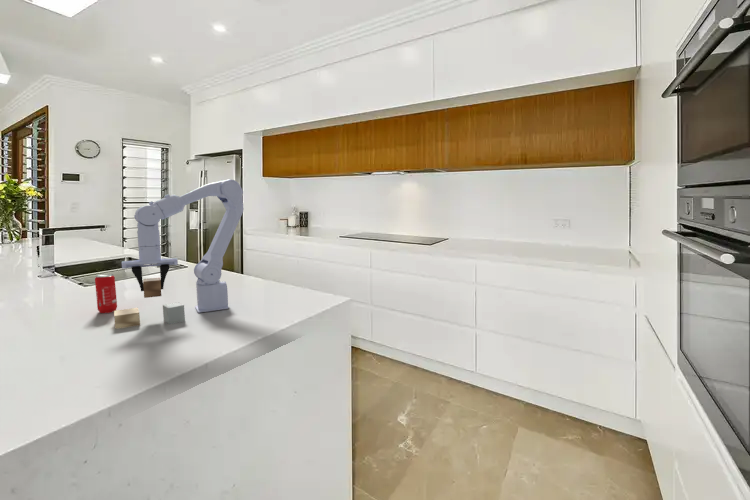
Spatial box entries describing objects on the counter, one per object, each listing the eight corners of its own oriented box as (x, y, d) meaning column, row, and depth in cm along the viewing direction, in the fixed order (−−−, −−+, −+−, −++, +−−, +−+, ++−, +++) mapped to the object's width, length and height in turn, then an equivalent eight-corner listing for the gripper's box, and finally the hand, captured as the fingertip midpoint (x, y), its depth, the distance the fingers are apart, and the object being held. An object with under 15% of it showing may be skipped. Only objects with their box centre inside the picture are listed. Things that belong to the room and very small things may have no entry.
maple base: (138, 320, 115) (137, 307, 114) (140, 325, 110) (139, 312, 109) (115, 323, 111) (114, 310, 111) (115, 329, 106) (114, 316, 106)
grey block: (179, 317, 117) (178, 302, 116) (185, 321, 114) (184, 305, 113) (163, 321, 114) (162, 305, 113) (168, 324, 111) (167, 308, 110)
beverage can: (107, 314, 120) (104, 277, 118) (93, 313, 121) (90, 276, 119) (121, 309, 125) (118, 274, 123) (108, 308, 126) (105, 273, 124)
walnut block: (160, 293, 118) (160, 277, 118) (161, 296, 115) (160, 280, 114) (144, 294, 116) (143, 278, 115) (144, 297, 112) (143, 281, 112)
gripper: (175, 243, 120) (178, 284, 122) (121, 245, 113) (124, 289, 115) (177, 245, 114) (179, 289, 116) (119, 248, 107) (123, 294, 109)
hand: (152, 289), depth 115 cm, fingers closed on walnut block, 4 cm apart
